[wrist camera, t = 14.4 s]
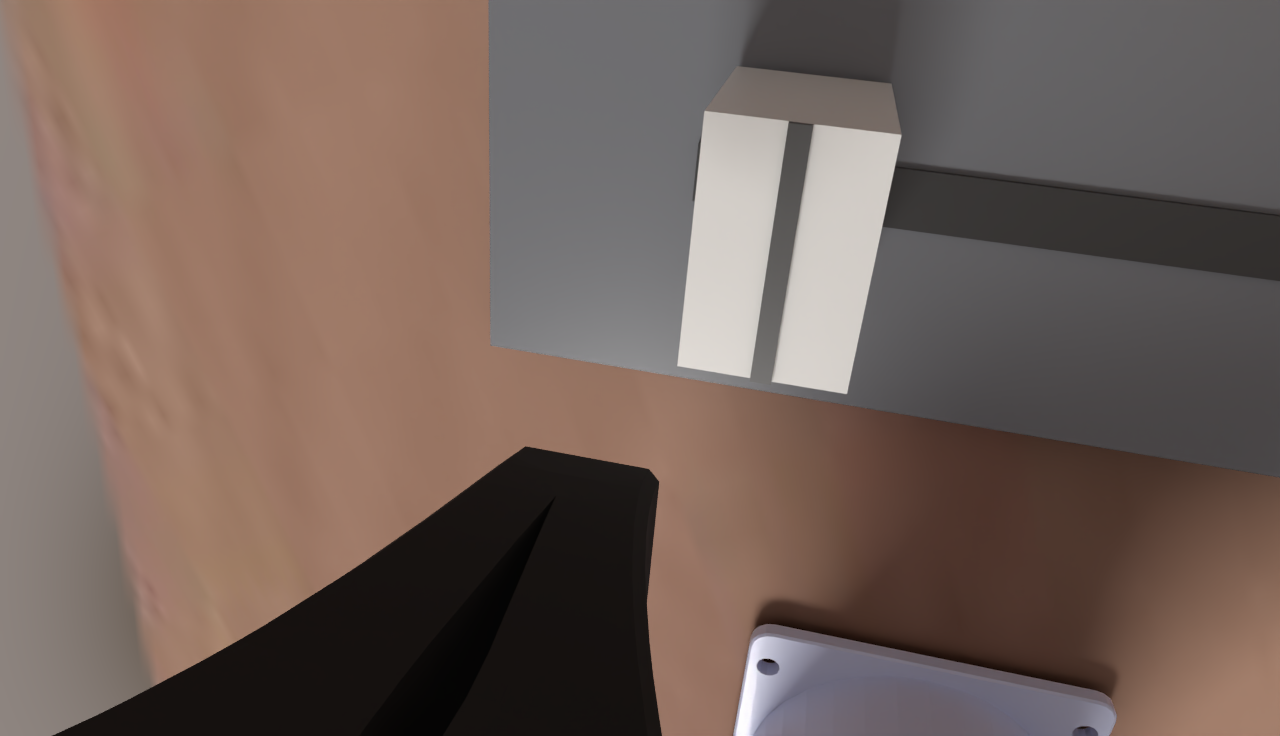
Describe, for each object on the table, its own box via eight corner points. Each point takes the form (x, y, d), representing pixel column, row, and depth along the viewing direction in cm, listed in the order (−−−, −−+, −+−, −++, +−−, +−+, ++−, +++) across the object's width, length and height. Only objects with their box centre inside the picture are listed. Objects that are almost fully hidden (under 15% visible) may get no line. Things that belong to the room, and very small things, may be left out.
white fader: (848, 297, 16) (847, 397, 12) (711, 277, 16) (675, 369, 13) (891, 83, 14) (902, 136, 11) (737, 66, 14) (702, 112, 11)
